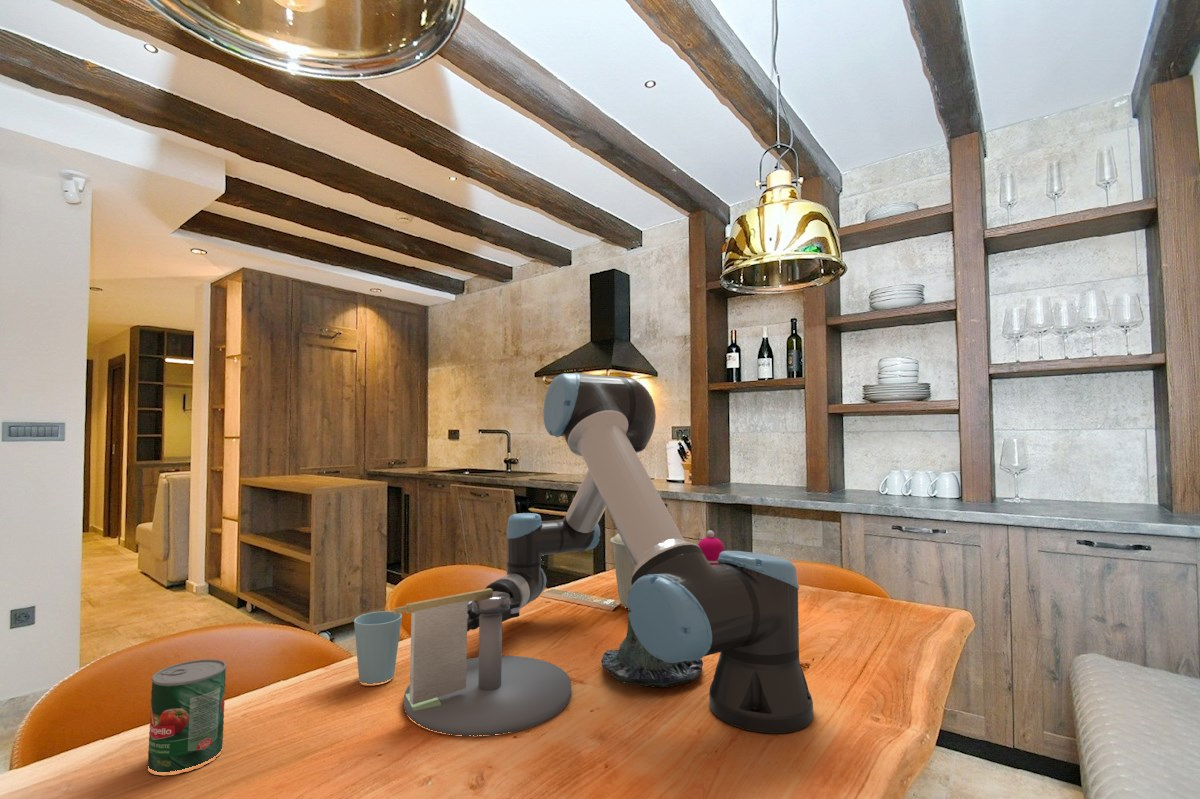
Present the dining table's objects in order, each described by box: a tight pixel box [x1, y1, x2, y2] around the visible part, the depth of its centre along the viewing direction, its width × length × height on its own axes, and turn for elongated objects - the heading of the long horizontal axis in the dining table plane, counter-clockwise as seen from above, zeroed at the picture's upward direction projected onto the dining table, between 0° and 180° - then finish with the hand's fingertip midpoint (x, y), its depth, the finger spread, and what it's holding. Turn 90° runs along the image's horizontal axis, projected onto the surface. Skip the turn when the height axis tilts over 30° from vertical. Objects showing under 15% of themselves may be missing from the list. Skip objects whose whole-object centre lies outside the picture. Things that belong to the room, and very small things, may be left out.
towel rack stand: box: [393, 588, 510, 705], centre depth 88 cm, size 19×6×14 cm, turn 131°
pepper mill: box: [697, 529, 725, 566], centre depth 132 cm, size 7×7×20 cm
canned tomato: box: [147, 658, 227, 772], centre depth 74 cm, size 8×8×11 cm
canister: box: [609, 533, 635, 610], centre depth 141 cm, size 18×18×21 cm
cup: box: [353, 610, 403, 684], centre depth 98 cm, size 8×8×10 cm
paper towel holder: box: [403, 613, 572, 736], centre depth 92 cm, size 26×26×12 cm
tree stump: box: [600, 588, 704, 689], centre depth 101 cm, size 18×20×18 cm
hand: (446, 633), depth 96 cm, fingers closed
